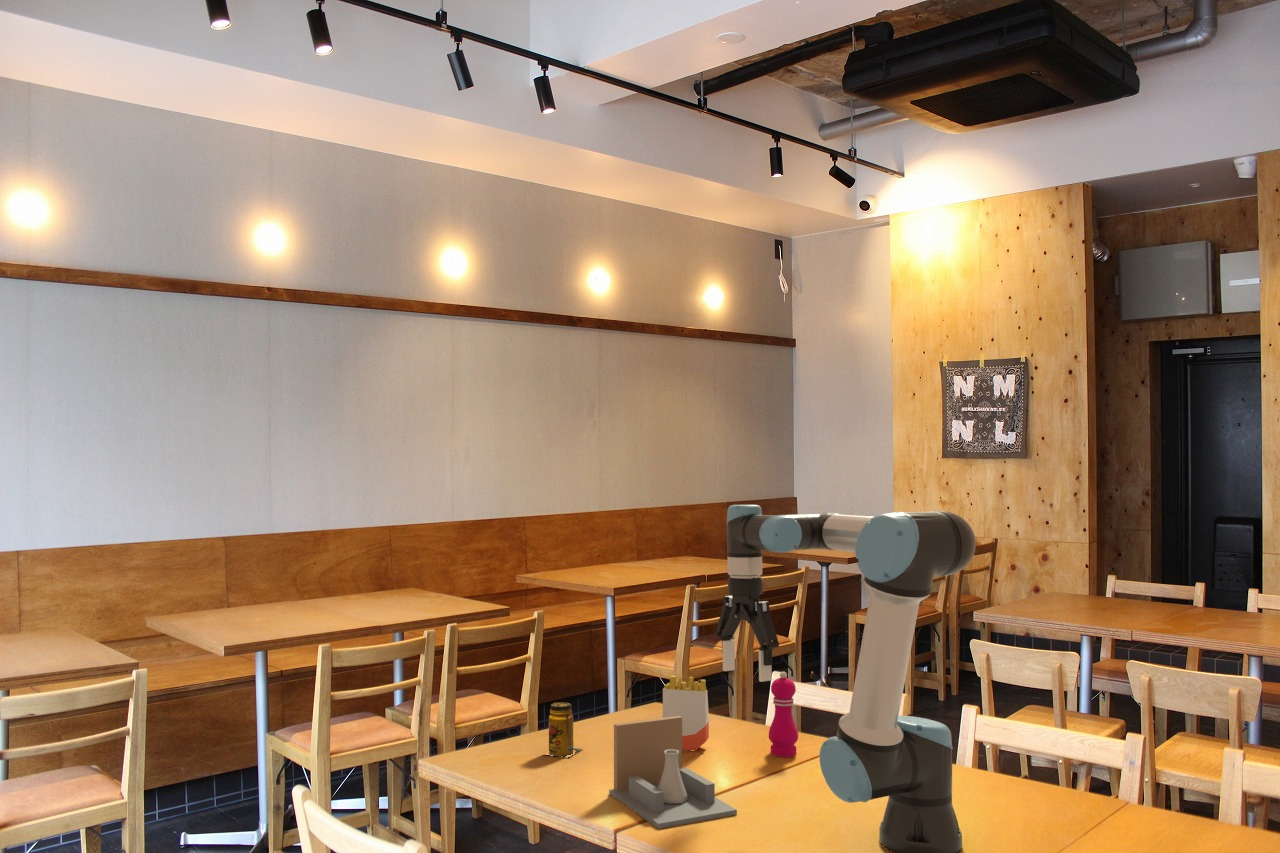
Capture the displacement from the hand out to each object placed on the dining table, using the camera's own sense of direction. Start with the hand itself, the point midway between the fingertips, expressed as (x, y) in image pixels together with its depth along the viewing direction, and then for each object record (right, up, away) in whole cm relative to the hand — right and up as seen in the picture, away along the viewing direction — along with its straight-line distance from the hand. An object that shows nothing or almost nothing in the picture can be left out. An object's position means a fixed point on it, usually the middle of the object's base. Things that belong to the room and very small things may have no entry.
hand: (746, 675), depth 224 cm
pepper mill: (+12, -27, +31) cm, 43 cm away
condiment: (-42, -27, +32) cm, 59 cm away
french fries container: (-12, -27, +36) cm, 46 cm away
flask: (-16, -25, -6) cm, 30 cm away
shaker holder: (-16, -26, -6) cm, 31 cm away
